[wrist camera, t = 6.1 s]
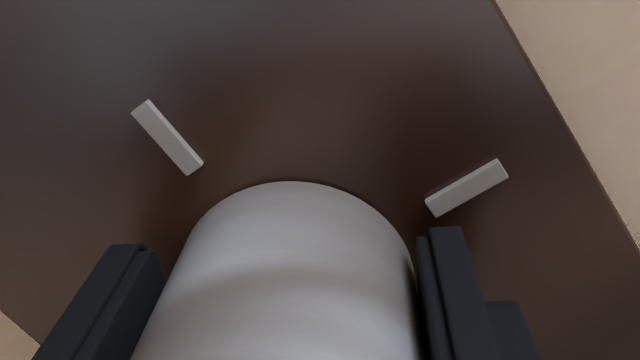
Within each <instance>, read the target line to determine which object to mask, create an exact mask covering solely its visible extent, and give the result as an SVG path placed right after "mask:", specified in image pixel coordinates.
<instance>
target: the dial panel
mask: <svg viewBox="0 0 640 360" xmlns="http://www.w3.org/2000/svg"><path fill="white" fill-rule="evenodd" d="M281 181H300V182H310V183H316V184H321V185H325V186H330V187H333V188H336V189H338V190H341V191H344V192H347V193H349V194H351V195H353V196H355V197H357V198H359V199H361V200H362V201H364V202H365V203H367V204H368V205H370V206H371V207H373V208H374V209H375V210H376V211H378V212H379V213H380V214H381V215H382V216H383V217H385V218H386V219H387V220H388V222H389V223H390V224H391V225H392V226H393V227H394V228H395V230H396V231H397V232H398V234H399V235H400V237H401V238H402V240H403V241H404V243H405V246H406V248H407V250H408V252H409V254H410V257H411V261H412V264H413V268H414V275H415V282H416V289H417V296H418V286H417V253H416V237H419V236H428V228H431V227H450V226H461V228H462V230H463V234H464V237H465V240H466V244H467V247H468V250H469V254H470V257H471V260H472V264H473V267H474V270H475V273H476V277H477V280H478V283H479V287H480V290H481V293H482V297H483V300H484V302H491V301H516V302H517V303H518V304H519V306H520V308H521V311H522V313H523V316H524V318H525V321H526V324H527V326H528V329H529V331H530V334H531V337H532V339H533V342H534V344H535V347H536V350H537V352H538V355H539V357H540V360H640V250H639V248H638V246H637V244H636V243H635V241H634V239H633V238H632V236H631V234H630V232H629V231H628V229H627V227H626V225H625V224H624V222H623V220H622V219H621V217H620V215H619V213H618V212H617V210H616V208H615V206H614V205H613V203H612V201H611V200H610V198H609V196H608V194H607V193H606V191H605V189H604V187H603V186H602V184H601V182H600V181H599V179H598V177H597V175H596V174H595V172H594V170H593V168H592V167H591V165H590V163H589V162H588V160H587V158H586V156H585V155H584V153H583V151H582V149H581V148H580V146H579V144H578V143H577V141H576V139H575V137H574V136H573V134H572V132H571V130H570V129H569V127H568V125H567V124H566V122H565V120H564V118H563V117H562V115H561V113H560V111H559V110H558V108H557V106H556V105H555V103H554V101H553V99H552V98H551V96H550V94H549V92H548V91H547V89H546V87H545V85H544V84H543V82H542V80H541V79H540V77H539V75H538V73H537V72H536V70H535V68H534V66H533V65H532V63H531V61H530V60H529V58H528V56H527V54H526V53H525V51H524V49H523V47H522V46H521V44H520V42H519V41H518V39H517V37H516V35H515V34H514V32H513V30H512V28H511V27H510V25H509V23H508V22H507V20H506V18H505V16H504V15H503V13H502V11H501V9H500V8H499V6H498V4H497V3H496V1H495V0H0V310H1V311H2V312H3V313H4V314H5V315H6V316H8V317H9V318H10V319H11V320H12V321H13V322H14V323H16V324H17V325H18V326H19V327H20V328H21V329H23V330H24V331H25V332H26V333H27V334H28V335H30V336H31V337H32V338H33V339H34V340H35V341H36V342H38V343H39V344H40V345H42V343H43V342H44V340H45V339H46V337H47V336H48V334H49V333H50V331H51V330H52V329H53V327H54V326H55V324H56V323H57V321H58V320H59V318H60V317H61V315H62V314H63V312H64V311H65V310H66V308H67V307H68V305H69V304H70V302H71V301H72V299H73V298H74V296H75V295H76V294H77V292H78V291H79V289H80V288H81V286H82V285H83V283H84V282H85V280H86V279H87V277H88V276H89V275H90V273H91V272H92V270H93V269H94V267H95V266H96V264H97V263H98V261H99V260H100V258H101V257H102V256H103V254H104V253H105V251H106V250H107V248H108V247H109V246H110V245H114V244H133V243H143V244H145V245H146V247H147V248H148V251H151V250H154V251H156V253H157V255H158V257H159V261H160V265H161V269H162V272H163V276H164V280H165V284H166V282H167V280H168V278H169V276H170V274H171V272H172V270H173V268H174V266H175V264H176V262H177V259H178V257H179V255H180V253H181V251H182V249H183V247H184V245H185V243H186V241H187V239H188V237H189V235H190V233H191V231H192V229H193V228H194V227H195V225H196V224H197V222H198V221H199V220H200V219H201V218H202V217H203V216H204V215H205V214H206V213H207V212H208V211H209V210H210V209H211V208H212V207H214V206H215V205H216V204H218V203H219V202H220V201H222V200H223V199H225V198H227V197H229V196H231V195H232V194H234V193H237V192H239V191H242V190H244V189H247V188H250V187H253V186H257V185H261V184H265V183H273V182H281Z"/></svg>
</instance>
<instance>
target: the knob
mask: <svg viewBox="0 0 640 360" xmlns="http://www.w3.org/2000/svg"><path fill="white" fill-rule="evenodd" d="M130 360H427V357H426V350H425V344H424V337H423V330H422V323H421V316H420V309H419V303H418V296H417V289H416V282H415V275H414V268H413V264H412V261H411V257H410V254H409V252H408V250H407V248H406V246H405V243H404V241H403V240H402V238H401V237H400V235H399V234H398V232H397V231H396V230H395V228H394V227H393V226H392V225H391V224H390V223H389V222H388V220H387V219H386V218H385V217H383V216H382V215H381V214H380V213H379V212H378V211H376V210H375V209H374V208H373V207H371V206H370V205H368V204H367V203H365V202H364V201H362V200H361V199H359V198H357V197H355V196H353V195H351V194H349V193H347V192H344V191H341V190H338V189H336V188H333V187H330V186H325V185H321V184H316V183H310V182H300V181H281V182H273V183H265V184H261V185H257V186H253V187H250V188H247V189H244V190H242V191H239V192H237V193H234V194H232V195H231V196H229V197H227V198H225V199H223V200H222V201H220V202H219V203H218V204H216V205H215V206H214V207H212V208H211V209H210V210H209V211H208V212H207V213H206V214H205V215H204V216H203V217H202V218H201V219H200V220H199V221H198V222H197V224H196V225H195V227H194V228H193V229H192V231H191V233H190V235H189V237H188V239H187V241H186V243H185V245H184V247H183V249H182V251H181V253H180V255H179V257H178V259H177V262H176V264H175V266H174V268H173V270H172V272H171V274H170V276H169V278H168V280H167V282H166V285H165V287H164V289H163V291H162V293H161V295H160V297H159V299H158V301H157V303H156V305H155V308H154V310H153V312H152V314H151V316H150V318H149V320H148V322H147V324H146V326H145V328H144V330H143V333H142V335H141V337H140V339H139V341H138V343H137V345H136V347H135V349H134V351H133V353H132V356H131V358H130Z"/></svg>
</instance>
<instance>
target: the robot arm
mask: <svg viewBox="0 0 640 360" xmlns="http://www.w3.org/2000/svg"><path fill="white" fill-rule="evenodd" d="M416 253H417V286H418V303H419V309H420V316H421V323H422V330H423V337H424V344H425V350H426V357H427V360H540V357H539V355H538V352H537V350H536V347H535V344H534V342H533V339H532V337H531V334H530V331H529V329H528V326H527V324H526V321H525V318H524V316H523V313H522V311H521V308H520V306H519V304H518V303H517V302H516V301H491V302H484V300H483V297H482V293H481V290H480V287H479V283H478V280H477V277H476V273H475V270H474V267H473V264H472V260H471V257H470V254H469V250H468V247H467V244H466V240H465V237H464V234H463V230H462V228H461V226H450V227H431V228H428V236H419V237H416ZM165 285H166V284H165V280H164V276H163V272H162V269H161V265H160V261H159V257H158V255H157V253H156V251H154V250H151V251H148V248H147V247H146V245H145V244H143V243H133V244H114V245H110V246H109V247H108V248H107V250H106V251H105V253H104V254H103V256H102V257H101V258H100V260H99V261H98V263H97V264H96V266H95V267H94V269H93V270H92V272H91V273H90V275H89V276H88V277H87V279H86V280H85V282H84V283H83V285H82V286H81V288H80V289H79V291H78V292H77V294H76V295H75V296H74V298H73V299H72V301H71V302H70V304H69V305H68V307H67V308H66V310H65V311H64V312H63V314H62V315H61V317H60V318H59V320H58V321H57V323H56V324H55V326H54V327H53V329H52V330H51V331H50V333H49V334H48V336H47V337H46V339H45V340H44V342H43V343H42V345H41V346H40V348H39V349H38V350H37V352H36V353H35V355H34V356H33V358H32V359H31V360H130V358H131V356H132V353H133V351H134V349H135V347H136V345H137V343H138V341H139V339H140V337H141V335H142V333H143V330H144V328H145V326H146V324H147V322H148V320H149V318H150V316H151V314H152V312H153V310H154V308H155V305H156V303H157V301H158V299H159V297H160V295H161V293H162V291H163V289H164V287H165Z"/></svg>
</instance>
